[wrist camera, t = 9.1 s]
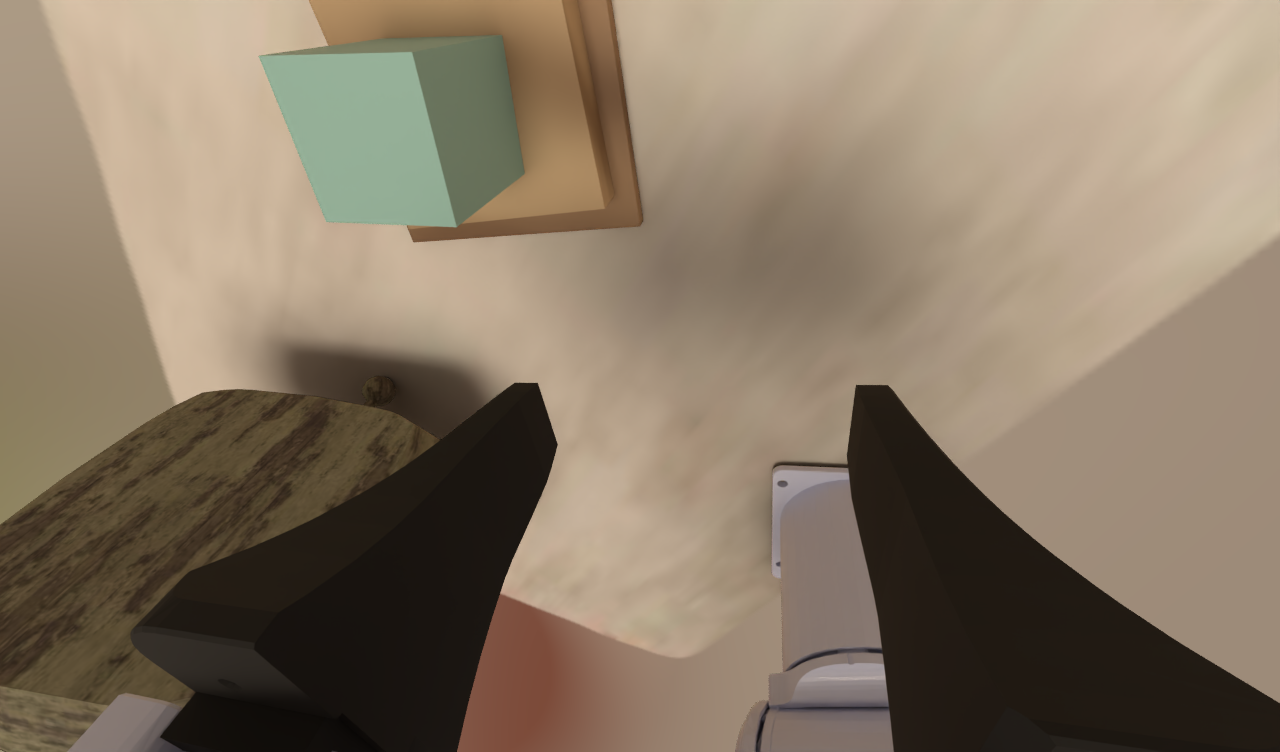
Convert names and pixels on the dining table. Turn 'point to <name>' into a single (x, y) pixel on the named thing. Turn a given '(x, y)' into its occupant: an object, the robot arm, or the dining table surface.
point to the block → (401, 126)
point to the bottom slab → (616, 137)
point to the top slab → (540, 85)
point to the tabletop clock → (166, 538)
